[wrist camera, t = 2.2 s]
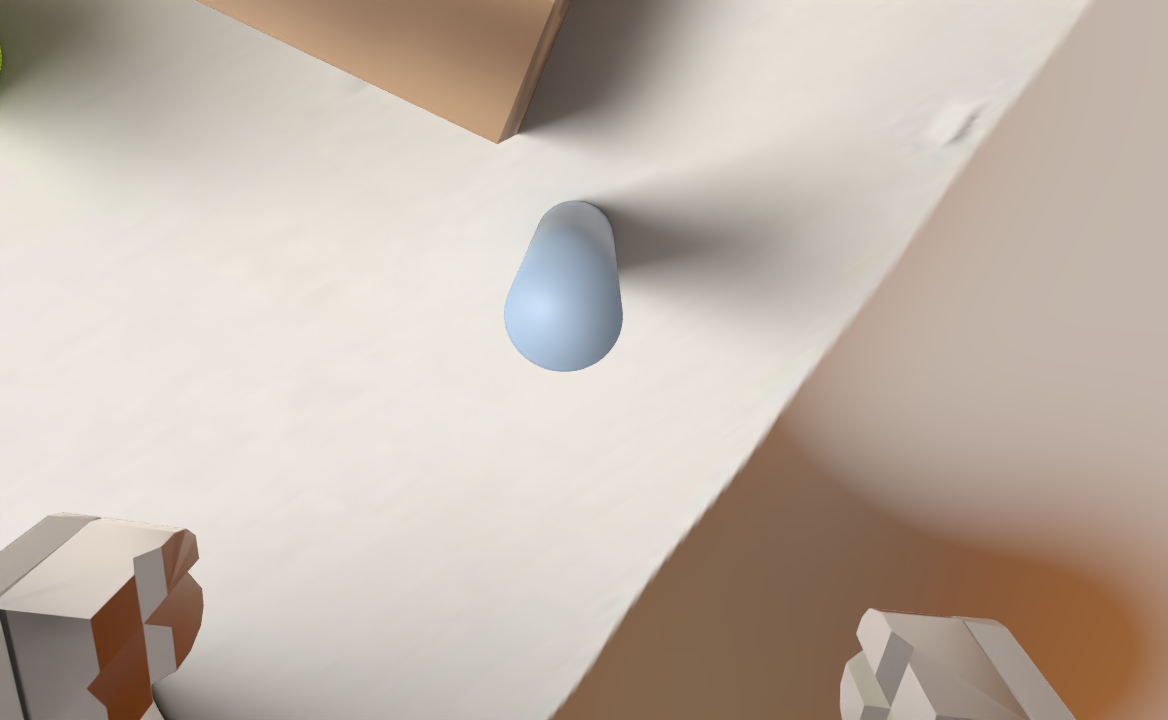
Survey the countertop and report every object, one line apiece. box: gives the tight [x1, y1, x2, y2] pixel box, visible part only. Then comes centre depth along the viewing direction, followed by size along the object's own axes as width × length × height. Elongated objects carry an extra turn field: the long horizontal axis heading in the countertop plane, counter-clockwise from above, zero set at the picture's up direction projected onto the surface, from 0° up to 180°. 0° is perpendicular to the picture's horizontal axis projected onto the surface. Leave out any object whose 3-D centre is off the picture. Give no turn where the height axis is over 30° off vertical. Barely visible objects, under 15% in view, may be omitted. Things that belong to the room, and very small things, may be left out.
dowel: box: [504, 201, 623, 372], centre depth 25 cm, size 3×3×11 cm
